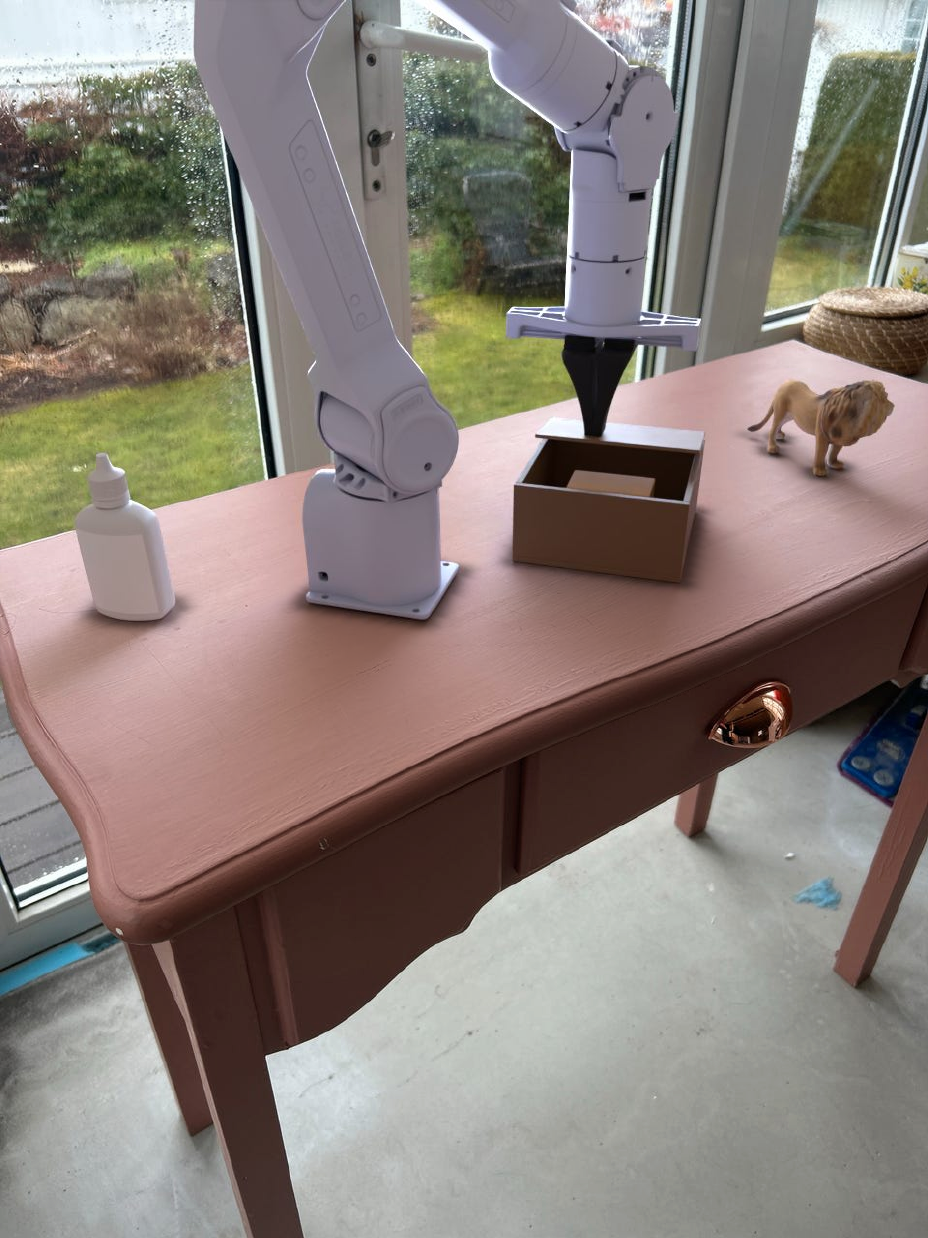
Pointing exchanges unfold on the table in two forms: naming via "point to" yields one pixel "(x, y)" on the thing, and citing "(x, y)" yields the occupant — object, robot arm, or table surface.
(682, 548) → the bread box
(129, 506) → the eye dropper bottle
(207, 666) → the table surface
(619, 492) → the beige block
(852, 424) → the lion figurine
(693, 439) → the flap
